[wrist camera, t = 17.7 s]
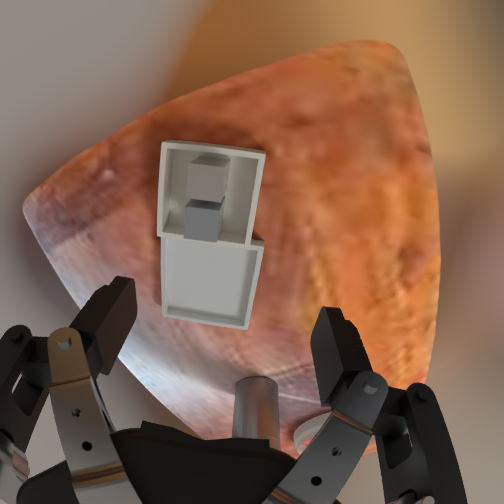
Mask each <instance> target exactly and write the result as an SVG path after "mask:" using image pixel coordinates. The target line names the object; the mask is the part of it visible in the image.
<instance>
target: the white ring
mask: <svg viewBox="0 0 504 504" xmlns="http://www.w3.org/2000/svg"><path fill="white" fill-rule="evenodd" d="M331 413H332V411H331V412H328V413H325V414H322V415H319V416H316V417H314V418H312V419H310V420H308V421H306V422H304V423H303V424H301V425H300V426H299V427H298V428H297V429H296V430H295V432H294V435H293V438H294V446H295V448H296V449H297V450H298V453H299V454H301V453H302V452H303V451H304V450H305V448H306V447H307V445H303V444H301V443H303V442H304V441H305V440H307V439H309V438H311V437H313V436H315V435H316V434H317V432H318V431H319V430H320V428H321V427H322V425H323V424H324V423H325V421H326V420H327V418H328V417H329V415H330V414H331ZM375 441H376V440H375V436H374V435H372V437H371V439H370V441H369V443H368V445H367V447H368V446H369V445H371V444H373V443H374V442H375Z"/></svg>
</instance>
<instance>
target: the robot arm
mask: <svg viewBox="0 0 504 504" xmlns="http://www.w3.org/2000/svg"><path fill="white" fill-rule="evenodd" d="M136 316H137V299H136V289H135V281H134V279H132V278H127V277H122V276H116V277H115V278H114V280H113V281H112V282H111V284H110V285H109V286H108V285H104V286H102V287H101V288H99V289H98V290H96V291H95V292H94V294H93V295H92V296H91V297H90V300H88V301H87V303H86V304H85V306H84V307H83V308H82V309H81V311H80V312H79V314H78V315H77V316H76V318H75V319H74V320H73V322H72V323H71V325H70V326H69V327H65V328H60V329H57V330H55V331H54V332H52V334H50V336H49V337H36V336H35V337H33V336H32V334H31V331H30V329H29V328H28V327H26V326H24V325H16V326H13V327H11V328H9V329H8V330H7V331H6V332H5V334H4V335H3V337H2V338H1V339H0V499H2V500H3V501H5V502H6V503H8V504H341V503H340V502H339V501H338V500H337V499H336V497H337V496H338V494H339V493H340V491H341V490H342V488H343V487H344V485H345V484H346V482H347V480H348V479H349V477H350V475H351V474H352V472H353V470H354V469H355V467H356V465H357V464H358V462H359V460H360V458H361V456H362V455H363V453H364V451H365V449H366V447H367V445H368V443H369V441H370V439H371V437H372V435H374V436H375V440H376V446H377V451H378V457H379V463H380V469H381V476H382V483H383V490H384V498H385V504H468V503H467V499H466V494H465V489H464V485H463V481H462V477H461V473H460V469H459V465H458V462H457V458H456V455H455V451H454V448H453V445H452V442H451V439H450V436H449V432H448V430H447V427H446V424H445V421H444V418H443V415H442V413H441V410H440V407H439V405H438V402H437V399H436V397H435V394H434V392H433V391H432V390H431V389H430V388H429V387H428V386H427V385H425V384H422V383H413V384H411V385H410V386H409V387H408V388H407V390H402V389H398V388H393V387H390V386H388V384H387V382H386V380H385V379H384V378H383V377H382V376H381V375H380V374H378V373H376V372H373V370H372V367H371V364H370V361H369V359H368V356H367V353H366V351H365V348H364V346H363V343H362V340H361V339H360V335H359V332H358V330H357V328H356V327H355V326H354V325H353V324H352V322H351V321H350V320H345V319H344V316H343V313H342V311H341V309H340V308H335V307H325V306H323V307H322V308H321V310H320V313H319V315H318V318H317V321H316V324H315V326H314V329H313V331H312V335H311V351H312V356H313V361H314V367H315V372H316V378H317V383H318V389H319V395H320V401H321V407H331V410H332V413H331V414H330V415H329V417H328V418H327V420H326V421H325V423H324V424H323V425H322V427H321V428H320V430H319V431H318V432H317V434H316V435H315V437H314V438H313V439H312V441H311V442H310V443H309V444H308V446H307V447H306V448H305V450H304V451H303V452H302V453H301V454H300V456H299V457H298V458H297V459H294V458H293V457H291V456H290V455H288V454H286V453H284V452H282V451H281V445H280V421H279V398H278V386H277V384H276V383H275V382H274V381H273V380H271V379H268V378H264V377H249V378H245V379H243V380H241V381H239V382H238V383H237V385H236V390H235V402H234V415H233V428H232V438H227V439H216V440H202V439H199V438H197V437H194V436H192V435H189V434H187V433H184V432H182V431H180V430H177V429H175V428H173V427H168V426H164V425H159V424H155V423H151V422H147V421H142V424H141V428H129V429H123V430H120V431H116V429H115V427H114V425H113V423H112V421H111V419H110V416H109V413H108V411H107V408H106V406H105V403H104V400H103V397H102V394H101V392H100V389H99V385H98V382H97V380H96V379H97V377H98V375H99V373H102V374H105V375H109V373H110V371H111V369H112V367H113V365H114V362H115V360H116V358H117V356H118V354H119V352H120V350H121V348H122V346H123V344H124V342H125V340H126V338H127V336H128V334H129V332H130V330H131V328H132V326H133V324H134V322H135V320H136ZM20 374H21V375H22V377H21V379H20V380H19V382H18V384H17V386H16V388H15V390H14V392H13V393H12V388H13V386H14V384H15V382H16V380H17V379H18V377H19V375H20ZM49 393H50V398H51V404H52V408H53V413H54V418H55V422H56V426H57V430H58V434H59V437H60V441H61V444H62V448H63V451H64V454H65V457H66V460H64V461H63V462H61V463H59V464H57V465H55V466H53V467H51V468H49V469H47V470H45V471H43V472H41V473H39V474H37V475H35V476H33V477H31V478H29V479H28V475H29V474H30V469H29V467H28V460H27V457H26V455H25V451H26V448H27V446H28V443H29V440H30V438H31V435H32V432H33V430H34V427H35V425H36V422H37V420H38V417H39V415H40V413H41V410H42V408H43V406H44V404H45V401H46V399H47V397H48V395H49ZM408 432H409V434H408ZM409 436H410V438H409ZM410 440H411V442H410ZM411 444H412V446H411Z"/></svg>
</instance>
